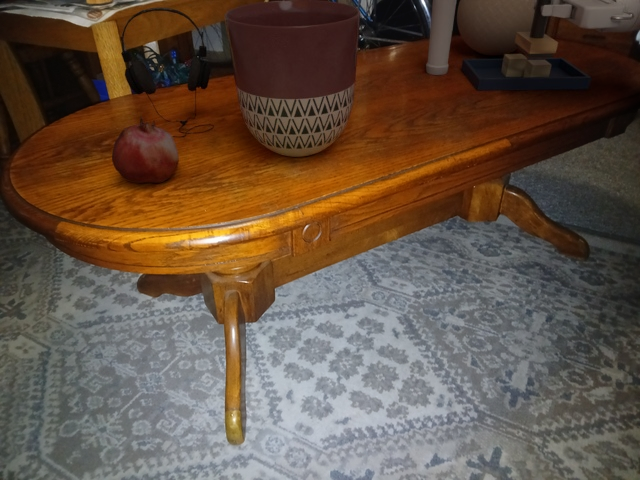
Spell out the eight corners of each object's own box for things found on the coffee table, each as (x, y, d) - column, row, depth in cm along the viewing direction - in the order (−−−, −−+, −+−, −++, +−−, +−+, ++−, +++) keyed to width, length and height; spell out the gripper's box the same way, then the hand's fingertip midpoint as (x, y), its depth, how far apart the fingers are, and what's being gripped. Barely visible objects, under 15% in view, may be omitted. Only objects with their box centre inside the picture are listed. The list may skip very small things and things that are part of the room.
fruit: (109, 177, 78) (92, 114, 73) (166, 159, 83) (154, 99, 78) (133, 199, 73) (116, 133, 67) (193, 179, 77) (182, 115, 72)
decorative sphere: (482, 41, 145) (495, -39, 134) (547, 55, 132) (567, -33, 121) (436, 53, 135) (445, -32, 123) (502, 70, 122) (519, -24, 110)
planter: (256, 125, 95) (245, -1, 83) (361, 129, 93) (365, 0, 80) (224, 172, 79) (205, 25, 67) (350, 179, 77) (353, 28, 65)
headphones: (132, 141, 90) (103, 19, 78) (138, 118, 99) (112, 6, 87) (219, 134, 92) (203, 14, 81) (217, 112, 101) (202, 2, 90)
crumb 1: (518, 71, 119) (521, 53, 117) (523, 76, 116) (527, 58, 113) (500, 71, 119) (504, 54, 117) (506, 76, 116) (509, 58, 113)
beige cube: (540, 77, 115) (545, 59, 113) (547, 83, 111) (551, 64, 109) (522, 78, 115) (526, 59, 113) (528, 83, 112) (532, 64, 109)
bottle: (427, 75, 119) (440, -48, 105) (423, 69, 123) (435, -50, 109) (450, 75, 119) (465, -48, 105) (444, 68, 123) (459, -51, 109)
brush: (538, 45, 105) (553, -24, 98) (554, 57, 97) (572, -17, 90) (513, 46, 105) (526, -24, 98) (528, 58, 98) (543, -17, 90)
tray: (560, 68, 122) (562, 57, 121) (588, 89, 109) (591, 77, 108) (461, 69, 123) (462, 59, 121) (477, 90, 110) (479, 78, 108)
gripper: (633, 37, 89) (552, 38, 90) (587, 14, 106) (519, 15, 107) (645, -2, 86) (561, -1, 86) (595, -20, 103) (525, -19, 103)
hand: (537, 7), depth 97 cm, fingers closed on brush, 2 cm apart
